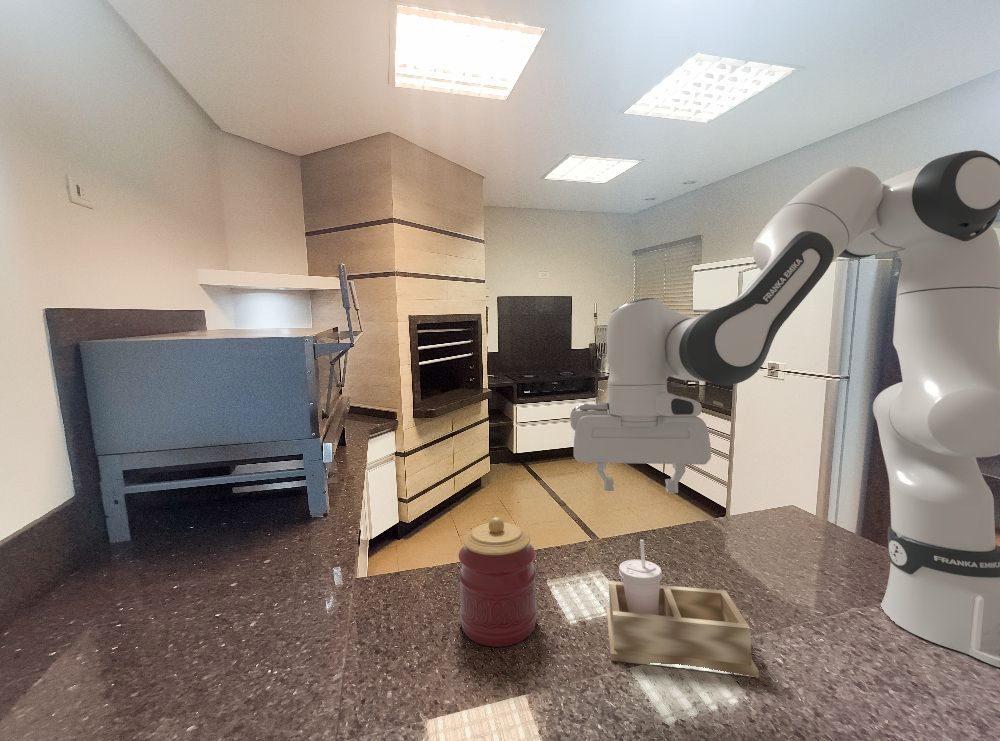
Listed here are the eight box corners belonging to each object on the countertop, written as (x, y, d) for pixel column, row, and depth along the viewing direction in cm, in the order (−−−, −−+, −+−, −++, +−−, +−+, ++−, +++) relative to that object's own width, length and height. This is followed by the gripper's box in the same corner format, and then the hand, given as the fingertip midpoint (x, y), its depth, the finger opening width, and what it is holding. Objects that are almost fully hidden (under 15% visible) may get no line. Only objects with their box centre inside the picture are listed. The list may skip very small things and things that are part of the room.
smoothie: (670, 646, 58) (663, 549, 58) (624, 642, 59) (618, 547, 60) (662, 620, 64) (655, 533, 64) (621, 617, 65) (615, 532, 66)
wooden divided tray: (727, 624, 64) (726, 587, 64) (759, 678, 53) (757, 633, 53) (606, 612, 68) (605, 577, 68) (611, 660, 57) (610, 618, 57)
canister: (462, 654, 59) (459, 536, 59) (458, 604, 72) (455, 507, 72) (546, 643, 61) (543, 529, 61) (527, 596, 74) (525, 502, 74)
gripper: (569, 405, 61) (572, 494, 61) (713, 403, 57) (716, 499, 56) (570, 402, 67) (573, 483, 67) (700, 400, 63) (703, 487, 63)
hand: (639, 491), depth 62 cm, fingers open, 8 cm apart
